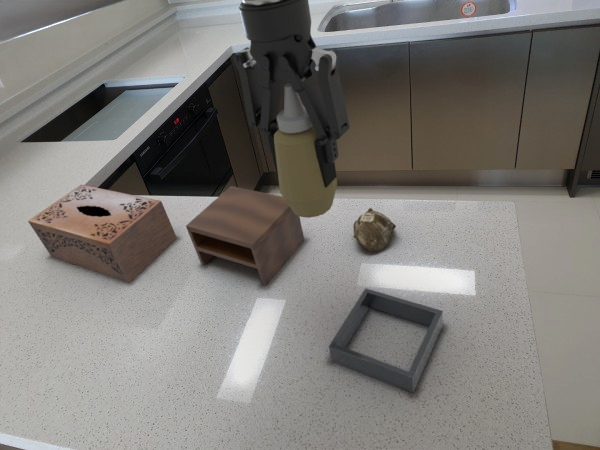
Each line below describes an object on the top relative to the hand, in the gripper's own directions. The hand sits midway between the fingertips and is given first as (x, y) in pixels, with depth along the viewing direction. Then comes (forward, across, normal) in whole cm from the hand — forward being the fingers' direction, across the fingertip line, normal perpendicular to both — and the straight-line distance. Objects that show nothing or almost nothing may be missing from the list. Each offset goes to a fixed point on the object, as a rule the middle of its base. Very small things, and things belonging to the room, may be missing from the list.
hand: (306, 177), depth 63 cm
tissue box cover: (+25, +53, +5) cm, 59 cm away
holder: (+25, -12, +4) cm, 28 cm away
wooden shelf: (+25, +21, -6) cm, 33 cm away
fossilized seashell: (+25, 0, -18) cm, 31 cm away
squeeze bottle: (+5, 0, 0) cm, 5 cm away
